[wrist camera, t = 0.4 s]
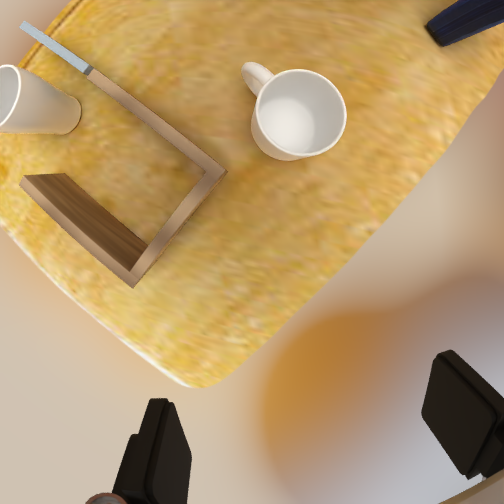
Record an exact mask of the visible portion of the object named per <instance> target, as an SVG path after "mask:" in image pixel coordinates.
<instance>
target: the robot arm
mask: <svg viewBox="0 0 504 504" xmlns="http://www.w3.org/2000/svg"><path fill="white" fill-rule="evenodd" d="M421 413H422V418H423V420H424V421H425V422H426V424H427V425H428V426H429V428H430V430H431V431H432V432H433V434H434V435H435V437H436V438H437V440H438V441H439V443H440V444H441V446H442V447H443V449H444V450H445V451H446V453H447V454H448V456H449V457H450V459H451V460H452V462H453V463H454V465H455V466H456V468H457V469H458V471H459V472H460V473H461V474H462V475H465V476H466V478H467V479H468V480H469V479H471V478H473V477H475V476H476V475H478V474H479V473H481V474H482V475H483V478H482V482H480V483H478V484H477V485H475V486H473V487H471V488H469V489H467V490H465V491H463V492H462V493H460V494H458V495H456V496H454V497H452V498H450V499H448V500H445V501H443V502H441V503H439V504H504V398H503V397H502V396H501V395H500V394H499V393H498V392H497V391H496V390H495V389H494V388H493V387H492V386H491V385H490V384H489V383H488V382H486V380H485V379H484V378H482V377H481V376H480V375H479V374H478V373H477V372H476V371H475V370H474V369H473V368H472V367H471V366H469V364H467V363H466V362H465V361H464V360H463V359H462V358H461V357H460V356H459V355H457V354H456V353H455V352H454V351H453V350H447V351H445V352H441V353H439V354H437V356H436V358H435V359H434V360H433V364H432V368H431V373H430V378H429V382H428V387H427V391H426V395H425V399H424V404H423V407H422V412H421ZM191 462H192V455H191V451H190V448H189V445H188V443H187V440H186V437H185V435H184V432H183V429H182V426H181V423H180V420H179V417H178V414H177V411H176V408H175V405H174V403H173V402H169V401H168V399H167V398H161V399H160V398H159V399H158V398H156V399H155V398H154V399H153V398H152V399H150V400H149V403H148V406H147V409H146V412H145V415H144V418H143V421H142V424H141V427H140V430H139V433H138V434H132V435H131V437H130V438H129V441H128V444H127V447H126V450H125V453H124V456H123V459H122V462H121V465H120V468H119V471H118V474H117V478H116V481H115V484H114V487H113V490H112V493H100V494H96V495H94V496H93V497H91V498H89V500H88V501H87V502H86V503H85V504H187V497H188V488H189V479H190V470H191Z"/></svg>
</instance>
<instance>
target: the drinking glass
mask: <svg viewBox="0 0 504 504" xmlns="http://www.w3.org/2000/svg"><path fill="white" fill-rule="evenodd" d="M80 116H81V106H80V103H79V102H78V100H77V99H76V98H74V97H73V96H70V95H68V94H66V93H65V92H63V91H62V90H60V89H58V88H57V87H55V86H54V85H52V84H51V83H49V82H48V81H46V80H44V79H43V78H41V77H40V76H38V75H36V74H34V73H32V72H30V71H28V70H26V69H23V68H20V67H17V66H14V65H10V64H7V65H2V66H0V133H6V134H57V135H63V134H67V133H69V132H70V131H72V130H73V129H74V128H75V127H76V125H77V124H78V122H79V120H80Z"/></svg>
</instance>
